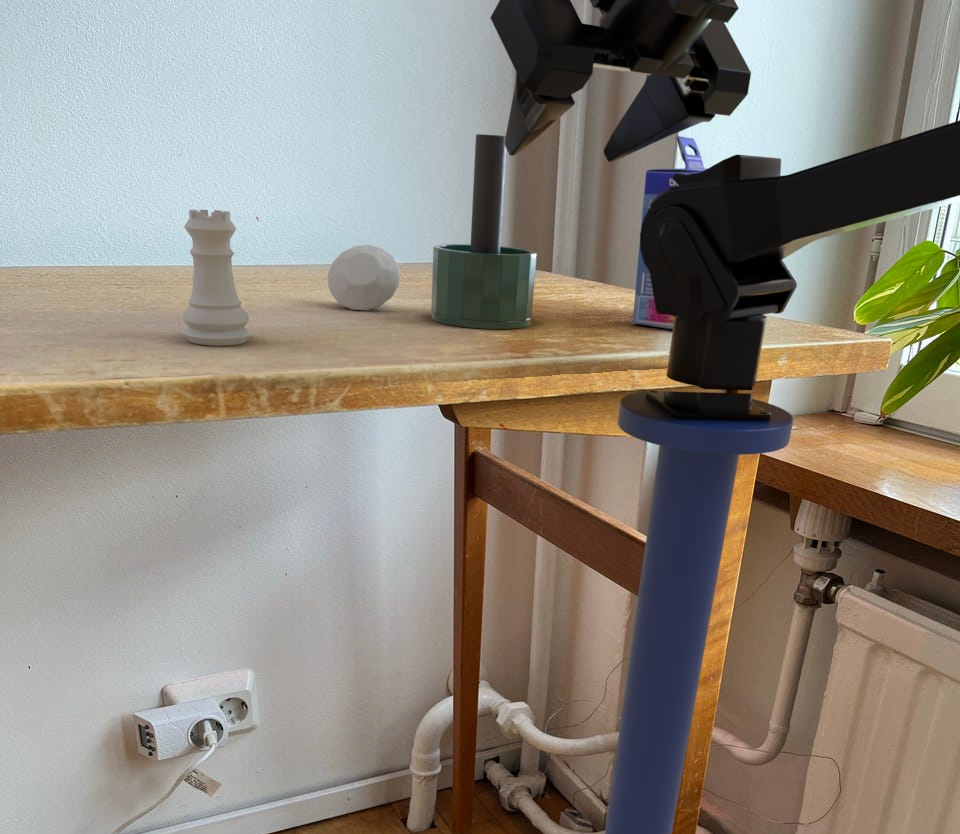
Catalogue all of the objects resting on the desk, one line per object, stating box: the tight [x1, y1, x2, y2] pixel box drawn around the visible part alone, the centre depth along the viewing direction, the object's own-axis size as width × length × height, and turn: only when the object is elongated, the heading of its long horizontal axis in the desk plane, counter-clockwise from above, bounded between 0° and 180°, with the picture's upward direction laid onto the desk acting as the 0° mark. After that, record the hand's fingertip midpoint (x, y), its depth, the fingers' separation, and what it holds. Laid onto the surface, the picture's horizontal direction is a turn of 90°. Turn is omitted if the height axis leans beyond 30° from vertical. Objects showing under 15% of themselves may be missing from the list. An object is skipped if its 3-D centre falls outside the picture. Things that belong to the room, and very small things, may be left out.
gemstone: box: [327, 244, 401, 312], centre depth 84 cm, size 6×6×5 cm
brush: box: [470, 133, 507, 254], centre depth 77 cm, size 4×4×13 cm
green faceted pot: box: [430, 243, 538, 330], centre depth 79 cm, size 8×8×6 cm
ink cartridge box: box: [632, 135, 707, 330], centre depth 83 cm, size 10×6×14 cm, turn 148°
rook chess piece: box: [181, 209, 251, 347], centre depth 64 cm, size 4×4×8 cm
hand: (559, 153), depth 69 cm, fingers open, 9 cm apart
